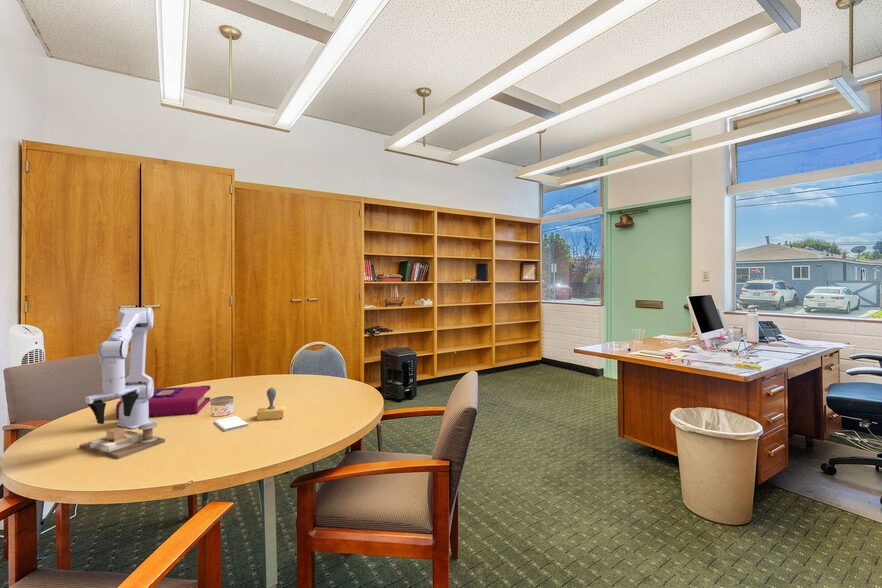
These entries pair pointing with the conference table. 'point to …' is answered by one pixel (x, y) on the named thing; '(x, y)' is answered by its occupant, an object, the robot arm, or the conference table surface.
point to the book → (175, 401)
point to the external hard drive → (230, 423)
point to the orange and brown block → (115, 434)
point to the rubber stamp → (271, 408)
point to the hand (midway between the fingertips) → (114, 419)
